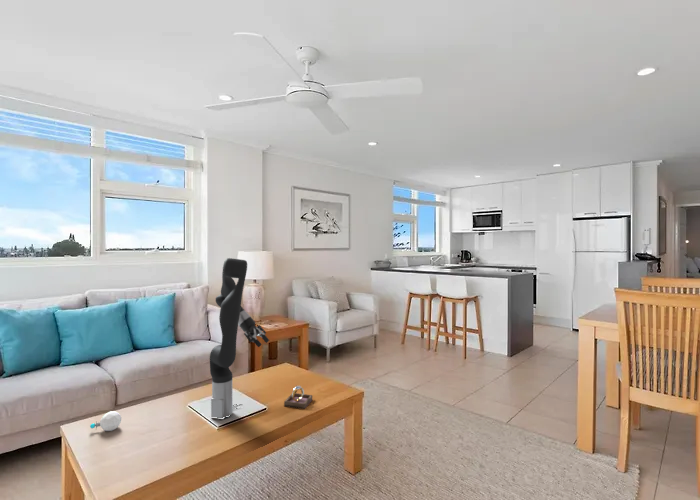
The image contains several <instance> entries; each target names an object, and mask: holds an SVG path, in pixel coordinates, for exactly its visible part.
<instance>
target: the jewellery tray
mask: <svg viewBox="0 0 700 500" xmlns="http://www.w3.org/2000/svg"><path fill="white" fill-rule="evenodd" d="M301 395H302V393H298V392H296V393H295V396H294V398H295V400H297V399H299V398H300V397H301ZM312 401H313V395H312V394H305V393H304V395H303V398H302V399H301V400H300V401H299V402H298V401H294V400H293V398H292V393H291V394H290V395H289V396H288V397H287V398H286V399H285V400H284V402H283V404H284V405H283V407H287V408H292V409H299V410H300V409H301V410H305V409H306V408H307V407H308V406H309V404H310V403H311V402H312Z"/></svg>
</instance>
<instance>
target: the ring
mask: <svg viewBox="0 0 700 500" xmlns="http://www.w3.org/2000/svg"><path fill="white" fill-rule="evenodd" d="M299 390H300V391H301V394H302V395H301V397H300V398H299V399H297V400H295V398H294V396H295V393H298V391H299ZM291 394H292V398H293V400H294V401H298V402H299V401H300V400H301V399H302V398H303V395H304V394H305V390H304V388H303V387H302V385H296V386H294V388H293V390H292V393H291Z"/></svg>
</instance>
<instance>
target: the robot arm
mask: <svg viewBox="0 0 700 500" xmlns="http://www.w3.org/2000/svg"><path fill="white" fill-rule="evenodd" d="M222 265H223V266H222V273H221V274H222V275H221V276H222V277H221V278H222V283H221V288H220V293H219V294H218V295H217V296H216V297H215V303H216V305H217V306H218V307H219V308H220V309H219V315H218V316H219V317H218V319H219V326H220V331H221V335H222V336H221V344H218V345H215V346H214V347H213V348H212V349H211V351H210V354H209V369H210V370H209V372H210V376H211V397H212V398H210V410H211V411H210V412H211V413H210V416H211V417H217V418H223V417H226V416H229V415H231V414H232V412H233V411H234V410H233V372H232V370H231V369H230V368H231V366H232V365H233V364H234V362H235V360H236V358H237V357H236V354H237V335H238V330H239V327H240V329H241V330H242V331H243V332H244V333H243V335H244V336H245V338H246V339H247V340H248V341H249V343H254V344H255V346H257V348H260V347H261V346H262V343H261V342H260V341H259V339H258V338H257V337H260V338H261V339H262V340H263V341H264V342H265V343H266V344H267V343H268V342H269V341H270V339H269V338H268V337H267V336H266V334H267V332H266V330H264V328H263V327H262V326H261V325H260V324H258V325H257V326H256V321H255V320H254V319H253V318H252V316H251V315H250V314H249V313H248V312H247V311H246V310H245V309H244V308H243V307H242V299H243V293H244V288H245V287H244V286H245V281H246V276H247V271H248V262H247V260H245V259H239V258H230V257H229V258H228V257H227V258H226V259H225V260H224V262H223V264H222ZM234 279H238V280H237V282H236V281H235V280H234ZM232 415H233V414H232ZM232 415H231V416H232ZM211 417H210V418H211Z"/></svg>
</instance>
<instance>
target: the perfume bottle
mask: <svg viewBox="0 0 700 500" xmlns="http://www.w3.org/2000/svg"><path fill="white" fill-rule="evenodd" d="M121 422H122V415H121V414H120V413H119V412H118V411H114V410H113V411H111V410H110V411H108V412H107V413H105V414H103V416H102V417H101V418H100V420H99V422H97V421H95V423H91V424H90V425H89V427H90V429H97V428H98V427H100V428H101V429H102V430H104V432H113V431H114V430H116V429H117V428H119V426H120V424H121Z"/></svg>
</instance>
